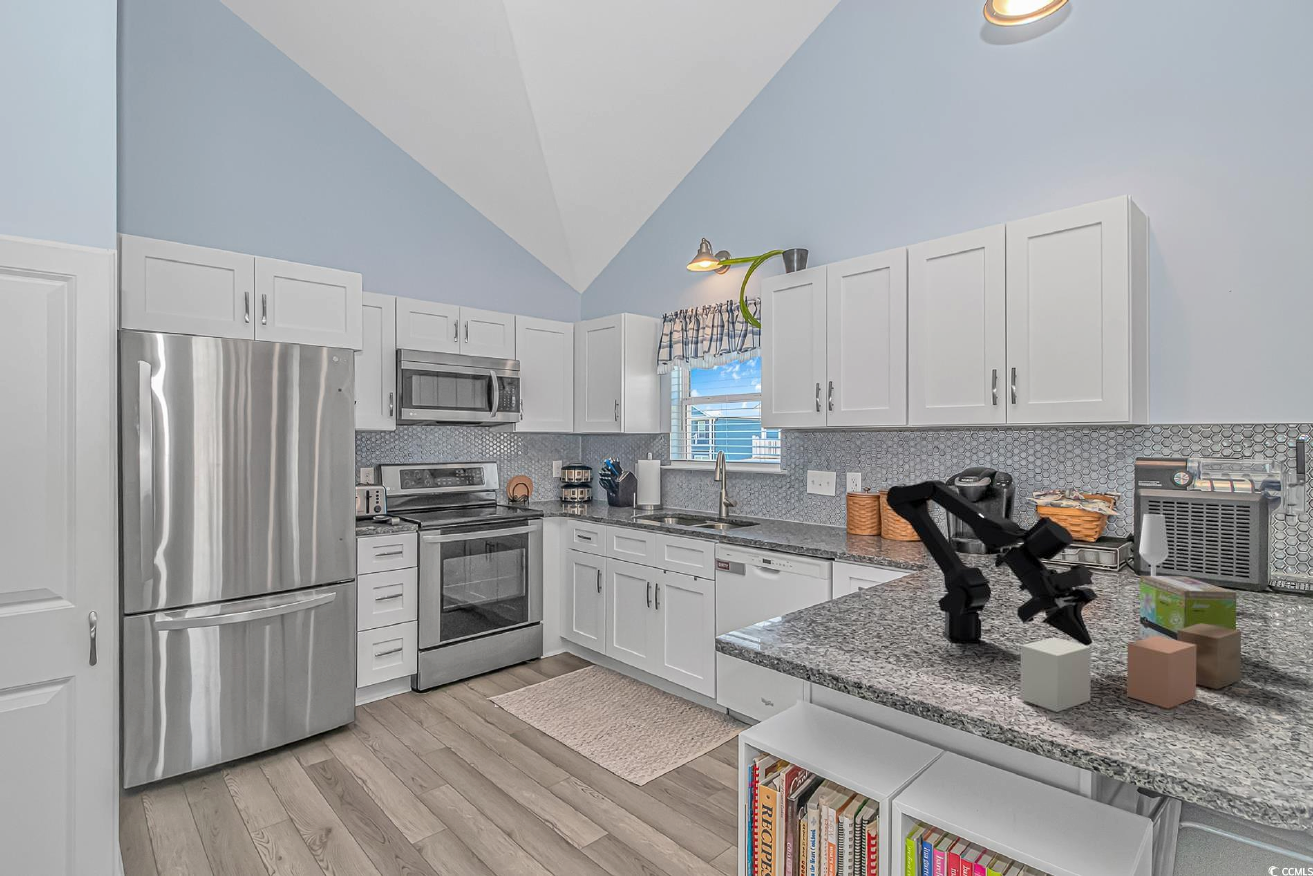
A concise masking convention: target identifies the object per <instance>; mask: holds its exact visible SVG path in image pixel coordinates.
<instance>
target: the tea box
mask: <svg viewBox="0 0 1313 876" xmlns="http://www.w3.org/2000/svg"><path fill="white" fill-rule="evenodd" d="M1139 596H1140V598H1139V638H1140V640H1142V639H1146V638H1149V637H1153V636H1159V637H1164V638H1168V639H1173V640H1177V630H1179V629H1182V628H1186V627H1190V626H1193V625H1197V624H1200V623H1203V624H1208V625H1213V626H1218V627H1223V628H1228V629H1233V630H1237V592H1236V591H1233V590H1230V589H1227V588H1223V587H1220V586H1217V585H1213V584H1210V583H1207V582H1204V581H1201V580H1197V579H1195V578H1192V577H1188V576H1181V575H1179V576H1175V575H1174V576H1173V575H1172V576H1171V575H1156V576H1151V575H1140V576H1139Z"/></svg>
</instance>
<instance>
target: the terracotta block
mask: <svg viewBox="0 0 1313 876" xmlns="http://www.w3.org/2000/svg"><path fill="white" fill-rule="evenodd" d="M1126 660H1127V662H1126V663H1127V664H1126V665H1127V666H1126V667H1127V671H1126V674H1127V675H1126V681H1127V682H1126V697H1129V698H1132V699H1135V700H1138V701H1142V702H1144V703H1145V702H1146V703H1149V704H1152V705H1155V706H1158V707H1162V708H1166V709H1171V708H1173V707H1176V706H1179V705H1182V704H1183V703H1185V702H1188V701H1191V700H1193V699H1196V697H1197V684H1196V645H1195V644H1190V643H1186V642H1181V641H1177V640H1173V639H1168V638H1164V637H1159V636H1153V637H1149V638H1146V639H1142V640H1141V639H1139V640H1135V641H1132V642H1129V643H1127V659H1126Z"/></svg>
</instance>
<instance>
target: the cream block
mask: <svg viewBox="0 0 1313 876" xmlns="http://www.w3.org/2000/svg"><path fill="white" fill-rule="evenodd" d="M1091 655H1092V646H1090V645H1087V646H1085V645H1084V644H1082V643H1077V642H1074V641H1070V640H1065V639H1063V638H1062V639H1061V638H1059V637H1051V638H1046V639H1043V640H1038V641H1034V642H1031V643H1030V642H1029V643H1026V644H1021V645H1020V684H1019V685H1020V686H1019V687H1020V690H1019V691H1020V692H1019V693H1020V694H1019V695H1020V696H1019V697H1020V699H1019V700H1022V701H1025V702H1027V703H1030V704H1034V705H1036V706H1039V707H1042V708H1044V709H1047V710H1050V711H1053V712H1057V713H1058V712H1061V711H1064V710H1067V709H1070V708H1073V707H1075V706H1079V705H1081V704H1084V703H1088V702H1089V701H1091V674H1092V672H1091V662H1092V660H1091V657H1092V656H1091Z"/></svg>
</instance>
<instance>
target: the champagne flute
mask: <svg viewBox="0 0 1313 876" xmlns="http://www.w3.org/2000/svg"><path fill="white" fill-rule="evenodd" d="M1165 517H1166V515H1164V514H1157V513H1144V514H1143V518H1142V527H1141V534H1140V535H1141V536H1140V541H1139V550H1138V554H1139V555H1140V556H1141V558H1142V559H1143V560H1144V561H1145V562H1146V563H1147V564H1149V565H1150V576H1157V565H1160V564H1162V562H1164V561H1165V560H1166V559H1167V558H1168V557H1169V554H1170V553H1169V547H1168V546H1169V545H1168V535H1167V526H1166V518H1165Z"/></svg>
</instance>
